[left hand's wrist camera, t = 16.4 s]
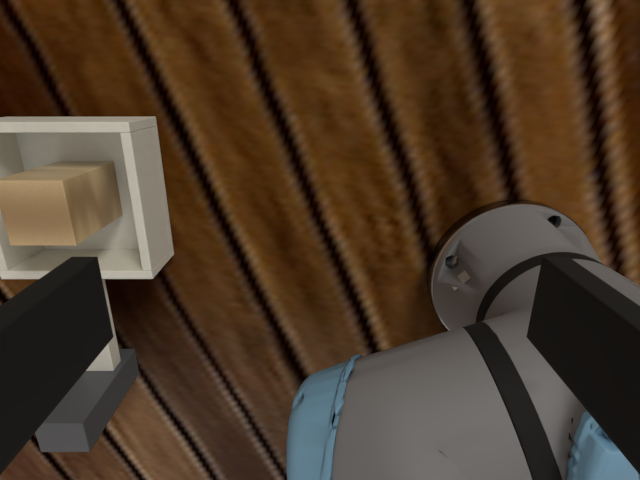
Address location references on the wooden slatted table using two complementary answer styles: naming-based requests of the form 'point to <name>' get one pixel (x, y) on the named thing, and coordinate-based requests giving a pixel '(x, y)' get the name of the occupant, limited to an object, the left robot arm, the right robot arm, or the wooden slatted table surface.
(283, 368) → the wooden slatted table surface
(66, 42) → the wooden slatted table surface
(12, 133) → the handled bin
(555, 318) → the left robot arm
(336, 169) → the wooden slatted table surface
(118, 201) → the birch block
